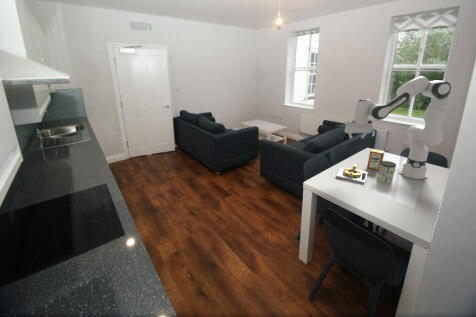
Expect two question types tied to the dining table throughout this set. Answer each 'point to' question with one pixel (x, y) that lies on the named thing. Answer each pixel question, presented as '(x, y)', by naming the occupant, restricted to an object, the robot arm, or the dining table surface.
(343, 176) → the base plate
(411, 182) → the dining table surface
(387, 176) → the coffee can
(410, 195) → the dining table surface
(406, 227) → the dining table surface
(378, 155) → the baking soda box
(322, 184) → the dining table surface
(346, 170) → the ring nut
